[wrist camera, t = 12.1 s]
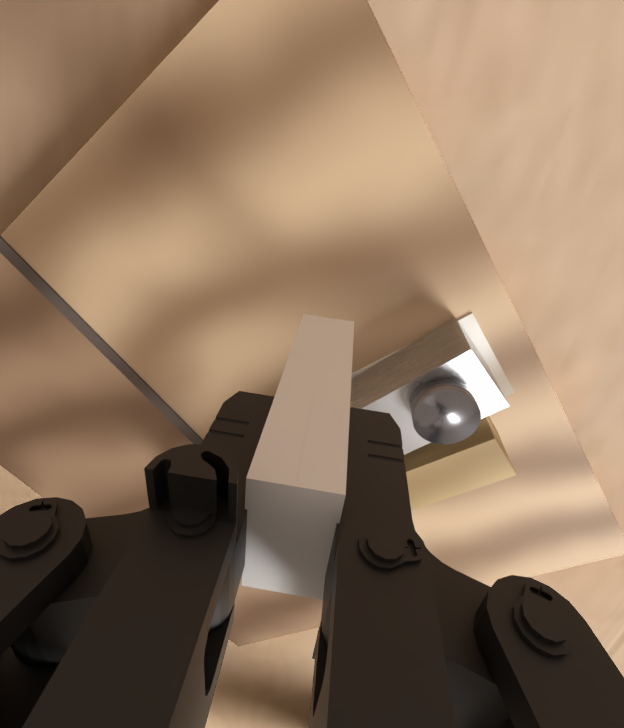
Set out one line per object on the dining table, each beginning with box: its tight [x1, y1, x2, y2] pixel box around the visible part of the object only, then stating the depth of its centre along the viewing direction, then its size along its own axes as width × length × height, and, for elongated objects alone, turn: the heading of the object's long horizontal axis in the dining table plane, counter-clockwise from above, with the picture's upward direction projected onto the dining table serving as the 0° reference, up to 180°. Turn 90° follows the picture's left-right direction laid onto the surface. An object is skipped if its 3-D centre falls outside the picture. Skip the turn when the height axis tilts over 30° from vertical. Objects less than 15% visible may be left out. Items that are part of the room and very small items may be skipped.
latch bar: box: [350, 317, 509, 455], centre depth 19 cm, size 17×4×4 cm, turn 129°
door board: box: [0, 0, 624, 646], centre depth 22 cm, size 32×30×5 cm
